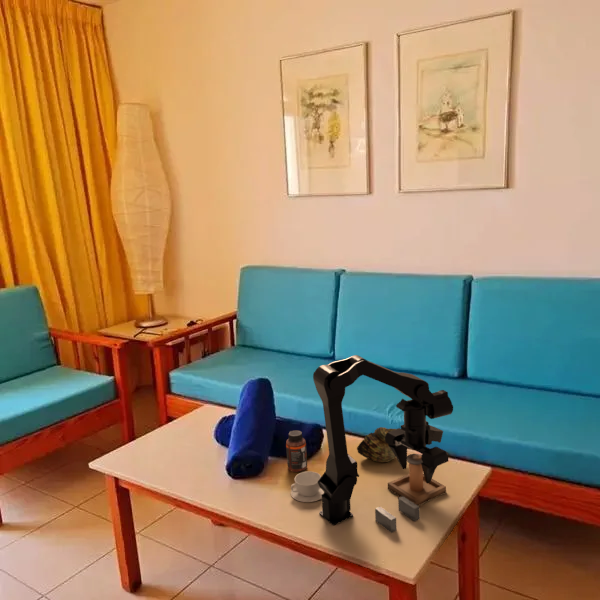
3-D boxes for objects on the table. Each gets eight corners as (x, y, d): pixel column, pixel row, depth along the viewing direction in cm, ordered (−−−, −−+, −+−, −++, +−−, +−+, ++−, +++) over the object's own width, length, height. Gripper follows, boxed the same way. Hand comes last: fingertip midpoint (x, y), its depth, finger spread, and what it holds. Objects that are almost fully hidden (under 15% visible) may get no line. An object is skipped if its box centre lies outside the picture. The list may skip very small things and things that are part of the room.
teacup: (318, 480, 161) (317, 465, 160) (332, 497, 152) (331, 482, 151) (285, 489, 158) (284, 474, 157) (298, 507, 149) (297, 491, 148)
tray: (415, 507, 145) (415, 500, 144) (387, 488, 154) (387, 482, 154) (446, 492, 150) (445, 486, 150) (417, 476, 160) (417, 470, 159)
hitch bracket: (391, 533, 135) (391, 520, 134) (375, 521, 140) (375, 508, 139) (419, 519, 140) (419, 506, 139) (403, 508, 145) (402, 496, 144)
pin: (416, 494, 149) (415, 463, 147) (404, 487, 153) (403, 457, 151) (428, 488, 151) (428, 458, 149) (416, 481, 155) (415, 452, 153)
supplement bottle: (310, 469, 167) (308, 434, 165) (291, 474, 165) (289, 439, 162) (303, 461, 172) (300, 427, 170) (285, 465, 170) (282, 431, 168)
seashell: (370, 447, 178) (369, 418, 176) (404, 454, 172) (403, 424, 170) (355, 462, 170) (354, 431, 167) (391, 470, 164) (390, 438, 162)
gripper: (463, 425, 144) (463, 480, 148) (413, 403, 160) (414, 453, 163) (432, 437, 139) (432, 494, 142) (382, 414, 154) (384, 465, 158)
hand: (416, 475), depth 151 cm, fingers open, 9 cm apart
